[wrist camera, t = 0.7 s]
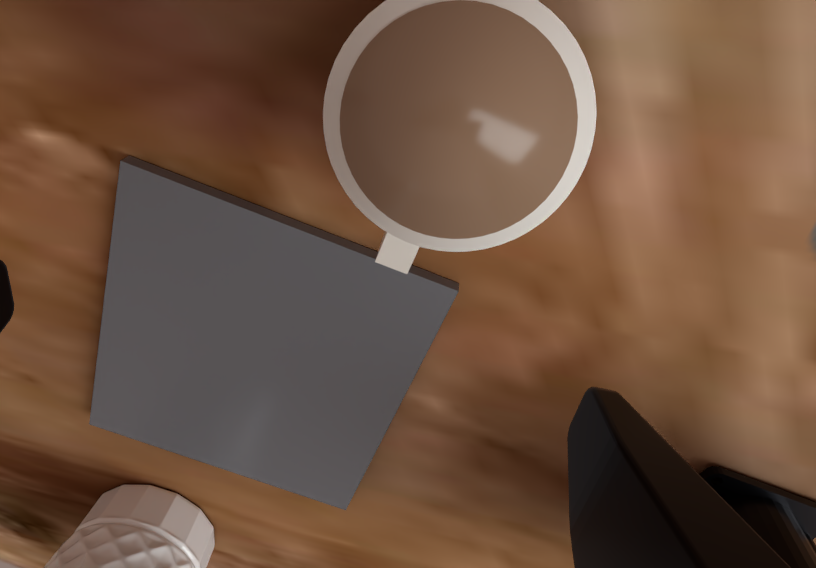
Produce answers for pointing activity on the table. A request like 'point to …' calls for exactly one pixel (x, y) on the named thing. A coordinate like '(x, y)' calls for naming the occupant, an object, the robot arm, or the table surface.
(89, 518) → the white cup
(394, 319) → the slate board
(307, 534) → the table surface
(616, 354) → the table surface
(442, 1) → the espresso cup
